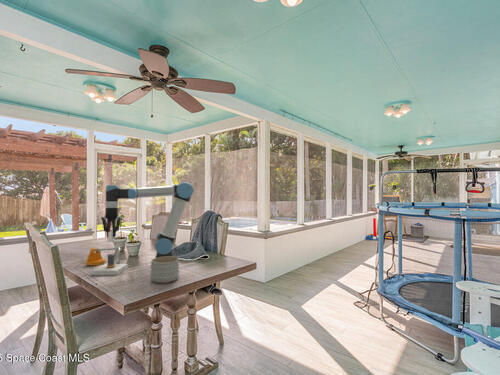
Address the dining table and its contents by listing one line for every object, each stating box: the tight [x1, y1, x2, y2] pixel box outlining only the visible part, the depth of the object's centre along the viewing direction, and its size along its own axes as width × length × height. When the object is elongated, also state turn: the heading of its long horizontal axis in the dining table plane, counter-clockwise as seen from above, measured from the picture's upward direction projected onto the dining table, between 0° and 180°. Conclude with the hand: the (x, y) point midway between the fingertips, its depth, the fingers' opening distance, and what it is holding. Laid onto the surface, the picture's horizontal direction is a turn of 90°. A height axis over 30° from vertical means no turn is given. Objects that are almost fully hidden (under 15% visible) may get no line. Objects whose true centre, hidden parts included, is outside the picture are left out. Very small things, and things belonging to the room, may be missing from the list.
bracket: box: [85, 247, 106, 267], centre depth 198 cm, size 11×7×12 cm, turn 145°
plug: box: [106, 253, 116, 268], centre depth 181 cm, size 5×5×12 cm
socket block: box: [91, 263, 129, 276], centre depth 181 cm, size 16×16×3 cm
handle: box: [95, 246, 121, 264], centre depth 188 cm, size 2×16×14 cm, turn 115°
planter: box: [150, 255, 180, 284], centre depth 165 cm, size 16×16×13 cm
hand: (111, 241), depth 181 cm, fingers open, 1 cm apart
